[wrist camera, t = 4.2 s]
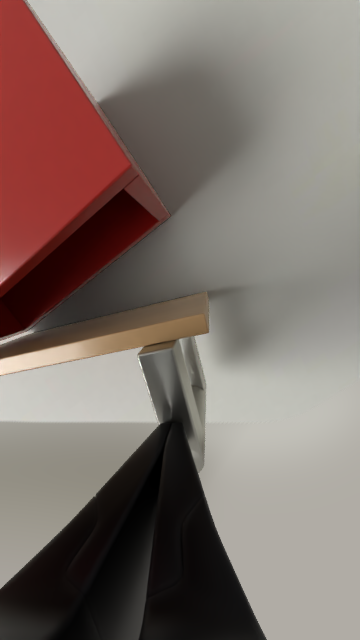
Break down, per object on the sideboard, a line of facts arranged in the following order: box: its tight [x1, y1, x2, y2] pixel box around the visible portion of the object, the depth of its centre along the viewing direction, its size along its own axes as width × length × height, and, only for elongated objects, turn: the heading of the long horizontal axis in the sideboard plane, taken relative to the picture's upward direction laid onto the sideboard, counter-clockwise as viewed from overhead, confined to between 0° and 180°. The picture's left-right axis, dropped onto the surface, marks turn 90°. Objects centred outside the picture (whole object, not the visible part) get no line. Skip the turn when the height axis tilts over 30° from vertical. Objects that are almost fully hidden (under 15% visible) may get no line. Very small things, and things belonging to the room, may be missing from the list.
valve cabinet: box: [0, 0, 171, 341], centre depth 12 cm, size 8×15×8 cm, turn 125°
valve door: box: [0, 292, 209, 473], centre depth 13 cm, size 6×15×8 cm, turn 104°
